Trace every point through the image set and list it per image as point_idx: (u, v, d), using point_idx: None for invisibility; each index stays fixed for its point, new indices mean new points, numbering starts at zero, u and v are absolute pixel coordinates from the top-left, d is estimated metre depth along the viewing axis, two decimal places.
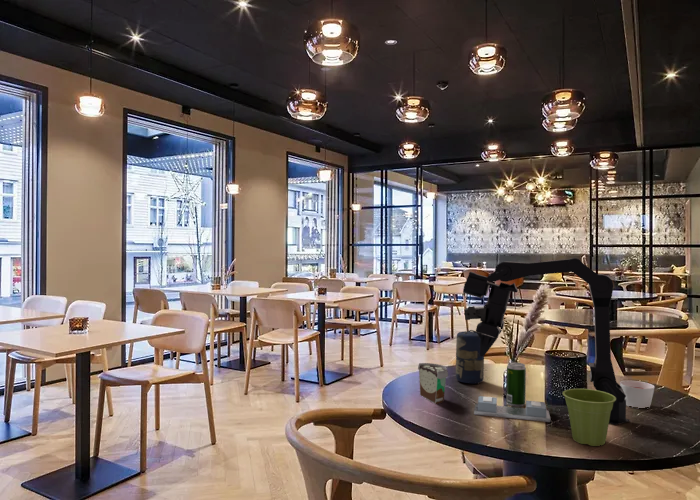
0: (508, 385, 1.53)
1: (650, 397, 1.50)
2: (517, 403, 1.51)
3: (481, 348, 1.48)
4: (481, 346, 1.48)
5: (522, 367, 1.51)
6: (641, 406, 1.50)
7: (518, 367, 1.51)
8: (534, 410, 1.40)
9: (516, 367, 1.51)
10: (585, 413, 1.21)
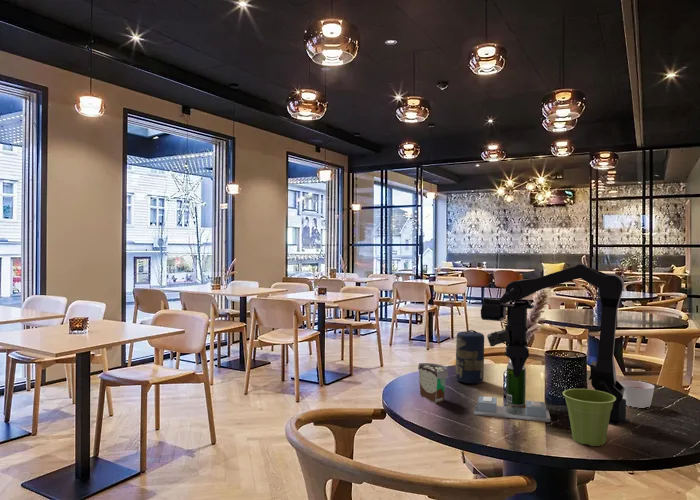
0: (508, 385, 1.53)
1: (650, 397, 1.50)
2: (517, 403, 1.51)
3: (514, 369, 1.50)
4: (514, 367, 1.50)
5: None
6: (641, 406, 1.50)
7: None
8: (534, 410, 1.40)
9: None
10: (585, 413, 1.21)
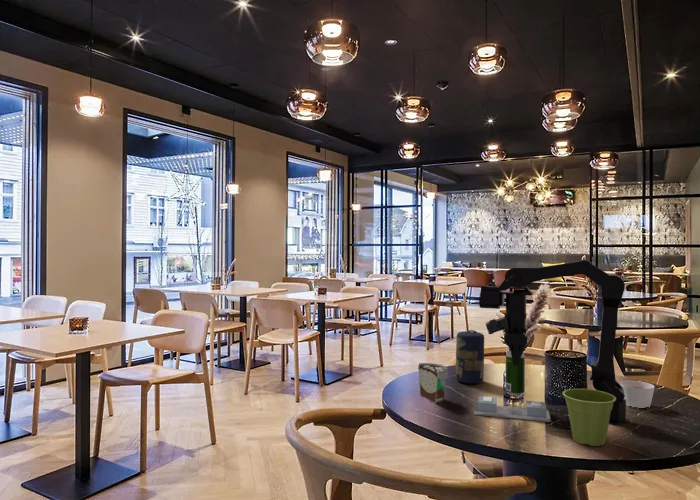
0: (507, 374, 1.50)
1: (650, 397, 1.50)
2: (516, 392, 1.49)
3: (513, 357, 1.48)
4: (513, 355, 1.47)
5: None
6: (641, 406, 1.50)
7: None
8: (534, 410, 1.40)
9: None
10: (585, 413, 1.21)
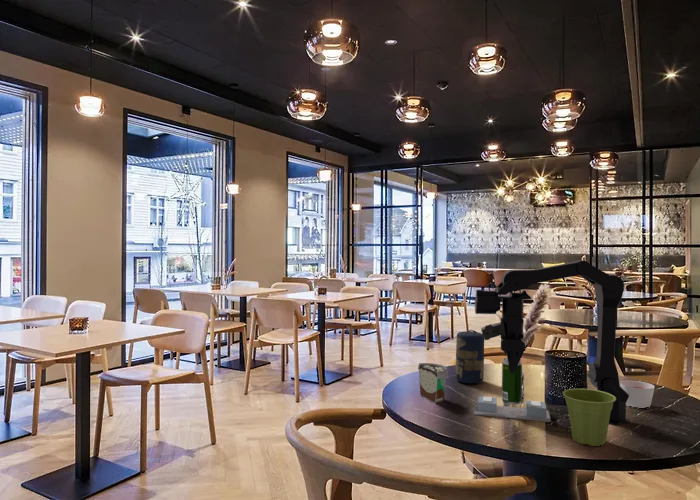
0: (503, 382, 1.44)
1: (650, 397, 1.50)
2: (513, 401, 1.42)
3: (510, 364, 1.41)
4: (510, 362, 1.41)
5: None
6: (641, 406, 1.50)
7: None
8: (534, 410, 1.40)
9: None
10: (585, 413, 1.21)
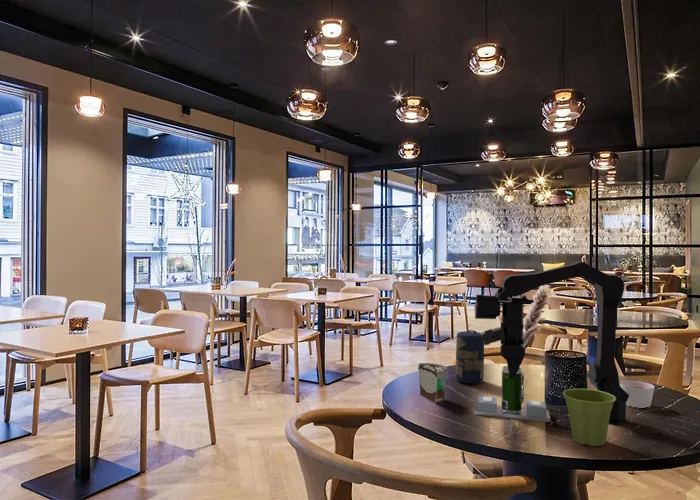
0: (503, 390, 1.44)
1: (650, 397, 1.50)
2: (513, 409, 1.42)
3: (510, 370, 1.40)
4: (510, 368, 1.40)
5: (518, 371, 1.42)
6: (641, 406, 1.50)
7: None
8: (534, 410, 1.40)
9: None
10: (585, 413, 1.21)
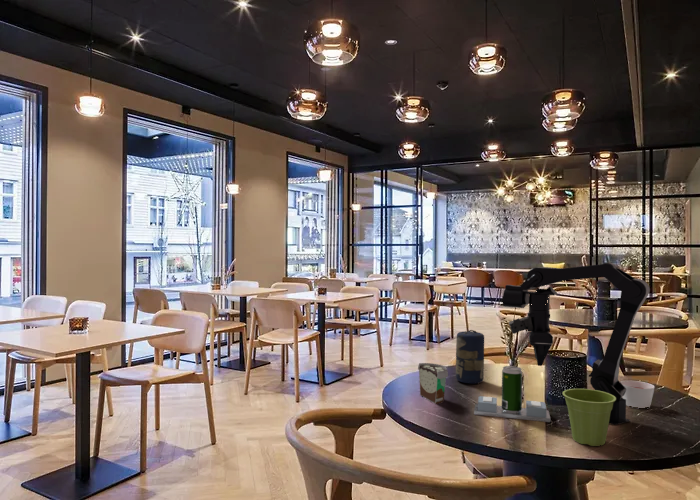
0: (503, 390, 1.44)
1: (650, 397, 1.50)
2: (513, 409, 1.42)
3: (538, 358, 1.47)
4: (538, 356, 1.47)
5: (518, 371, 1.42)
6: (641, 406, 1.50)
7: (514, 371, 1.42)
8: (534, 410, 1.40)
9: (512, 371, 1.42)
10: (585, 413, 1.21)
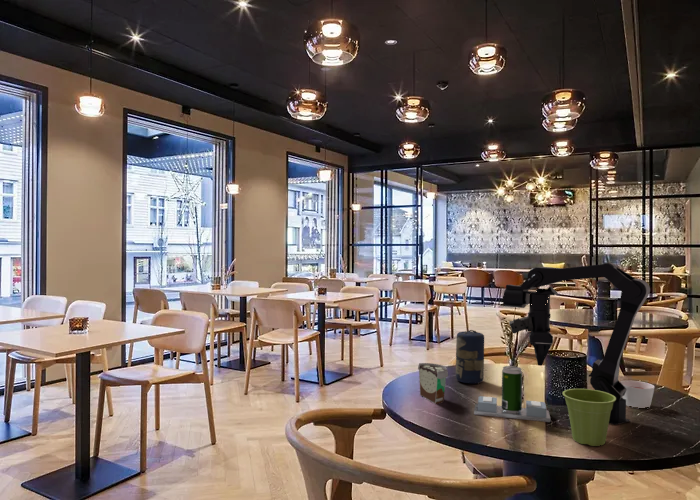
0: (503, 390, 1.44)
1: (650, 397, 1.50)
2: (513, 409, 1.42)
3: (538, 357, 1.47)
4: (538, 355, 1.47)
5: (518, 371, 1.42)
6: (641, 406, 1.50)
7: (514, 371, 1.42)
8: (534, 410, 1.40)
9: (512, 371, 1.42)
10: (585, 413, 1.21)
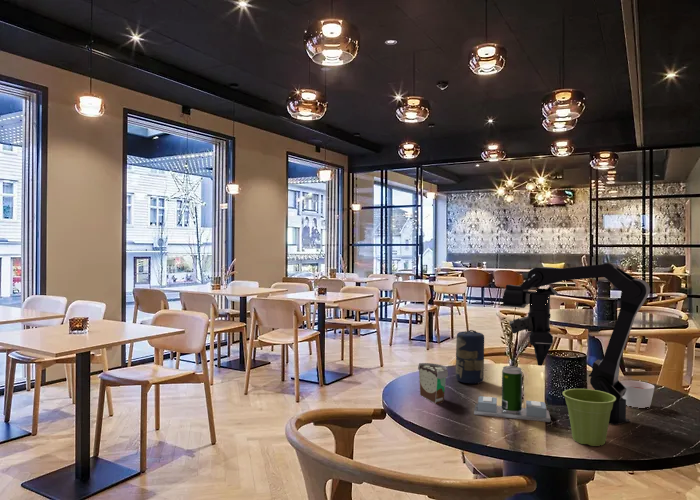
0: (503, 390, 1.44)
1: (650, 397, 1.50)
2: (513, 409, 1.42)
3: (538, 357, 1.47)
4: (538, 355, 1.47)
5: (518, 371, 1.42)
6: (641, 406, 1.50)
7: (514, 371, 1.42)
8: (534, 410, 1.40)
9: (512, 371, 1.42)
10: (585, 413, 1.21)
